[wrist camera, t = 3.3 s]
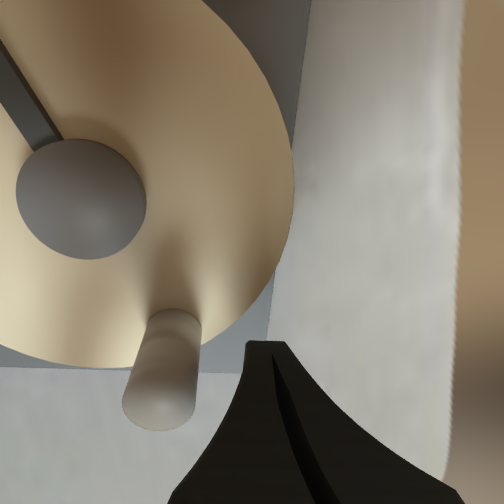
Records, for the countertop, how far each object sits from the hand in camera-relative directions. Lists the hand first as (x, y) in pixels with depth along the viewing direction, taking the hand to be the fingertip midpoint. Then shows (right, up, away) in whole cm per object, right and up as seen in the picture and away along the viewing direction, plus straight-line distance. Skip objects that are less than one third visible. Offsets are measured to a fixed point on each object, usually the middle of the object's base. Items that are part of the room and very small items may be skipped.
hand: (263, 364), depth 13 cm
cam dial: (-6, +6, 0) cm, 8 cm away
